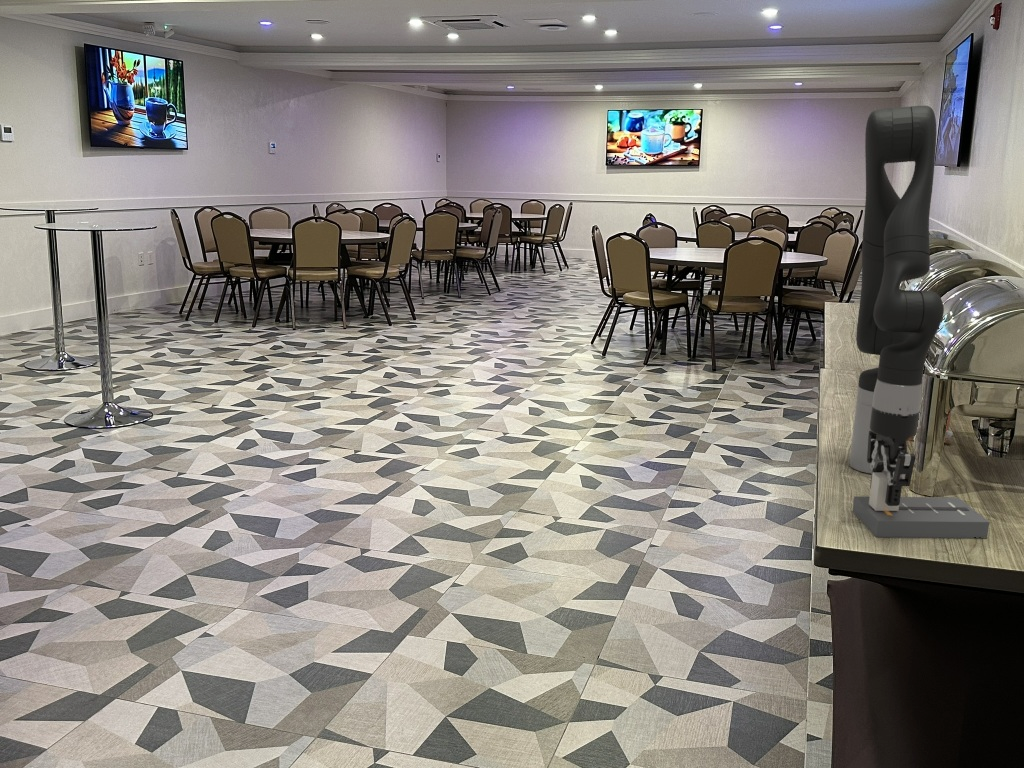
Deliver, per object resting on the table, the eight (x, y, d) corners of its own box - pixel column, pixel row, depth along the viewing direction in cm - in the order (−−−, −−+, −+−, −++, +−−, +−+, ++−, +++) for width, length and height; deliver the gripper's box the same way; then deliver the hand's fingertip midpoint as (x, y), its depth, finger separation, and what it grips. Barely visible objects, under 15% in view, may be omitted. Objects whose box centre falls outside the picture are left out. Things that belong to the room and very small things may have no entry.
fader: (868, 504, 157) (872, 470, 156) (891, 504, 157) (895, 470, 156) (875, 510, 154) (879, 476, 153) (898, 510, 154) (902, 477, 153)
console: (852, 511, 162) (854, 495, 161) (955, 512, 162) (958, 496, 161) (876, 537, 151) (878, 520, 151) (986, 538, 151) (989, 521, 151)
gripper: (858, 394, 158) (847, 482, 162) (891, 418, 144) (879, 514, 148) (899, 395, 158) (888, 483, 162) (937, 419, 144) (924, 514, 148)
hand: (884, 497), depth 155 cm, fingers open, 6 cm apart
